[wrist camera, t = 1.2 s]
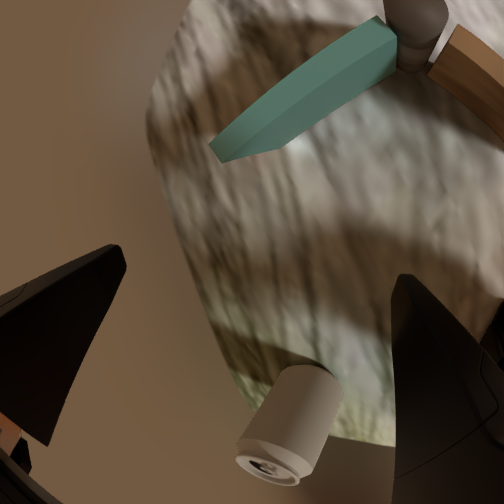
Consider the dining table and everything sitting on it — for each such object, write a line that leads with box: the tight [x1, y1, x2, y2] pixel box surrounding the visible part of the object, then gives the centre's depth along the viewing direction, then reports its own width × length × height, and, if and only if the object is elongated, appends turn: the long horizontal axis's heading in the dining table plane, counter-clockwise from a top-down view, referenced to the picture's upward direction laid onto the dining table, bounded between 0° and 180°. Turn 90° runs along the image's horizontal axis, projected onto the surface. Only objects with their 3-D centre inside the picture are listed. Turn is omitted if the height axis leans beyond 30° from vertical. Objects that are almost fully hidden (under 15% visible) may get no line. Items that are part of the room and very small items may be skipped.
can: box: [235, 365, 343, 486], centre depth 23 cm, size 8×8×12 cm
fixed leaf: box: [383, 0, 504, 141], centre depth 8 cm, size 12×3×9 cm, turn 65°
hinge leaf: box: [209, 15, 437, 163], centre depth 12 cm, size 13×3×8 cm, turn 130°
